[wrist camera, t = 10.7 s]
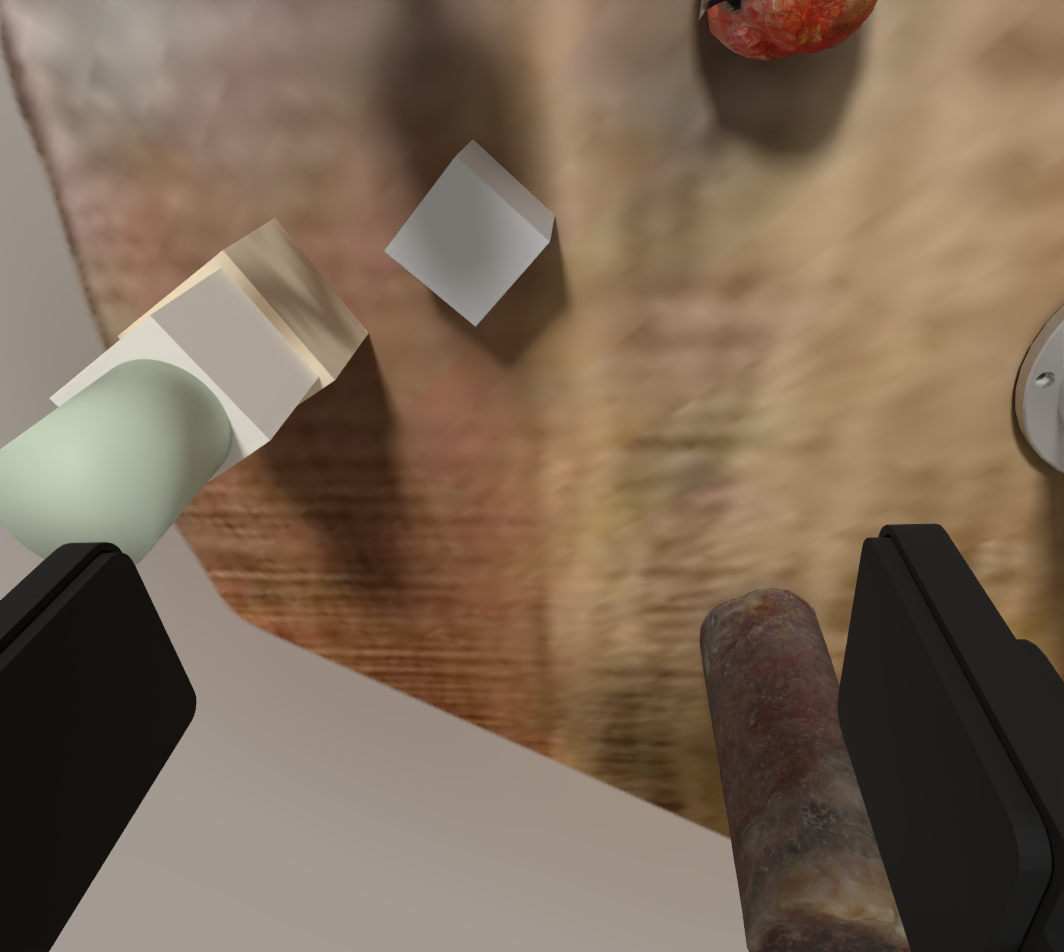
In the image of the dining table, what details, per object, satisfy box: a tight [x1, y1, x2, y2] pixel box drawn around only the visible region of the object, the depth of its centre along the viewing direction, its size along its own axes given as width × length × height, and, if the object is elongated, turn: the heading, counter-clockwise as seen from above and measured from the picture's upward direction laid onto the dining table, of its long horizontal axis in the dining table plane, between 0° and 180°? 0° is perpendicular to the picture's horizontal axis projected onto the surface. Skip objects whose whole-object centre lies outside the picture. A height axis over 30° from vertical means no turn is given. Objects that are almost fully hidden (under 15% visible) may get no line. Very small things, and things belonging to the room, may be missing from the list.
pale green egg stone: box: [0, 359, 232, 565], centre depth 26 cm, size 5×5×6 cm
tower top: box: [50, 267, 319, 483], centre depth 31 cm, size 6×6×6 cm
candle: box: [700, 588, 911, 952], centre depth 39 cm, size 8×7×20 cm
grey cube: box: [385, 139, 555, 327], centre depth 33 cm, size 5×5×5 cm
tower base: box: [117, 218, 368, 405], centre depth 36 cm, size 7×7×6 cm
